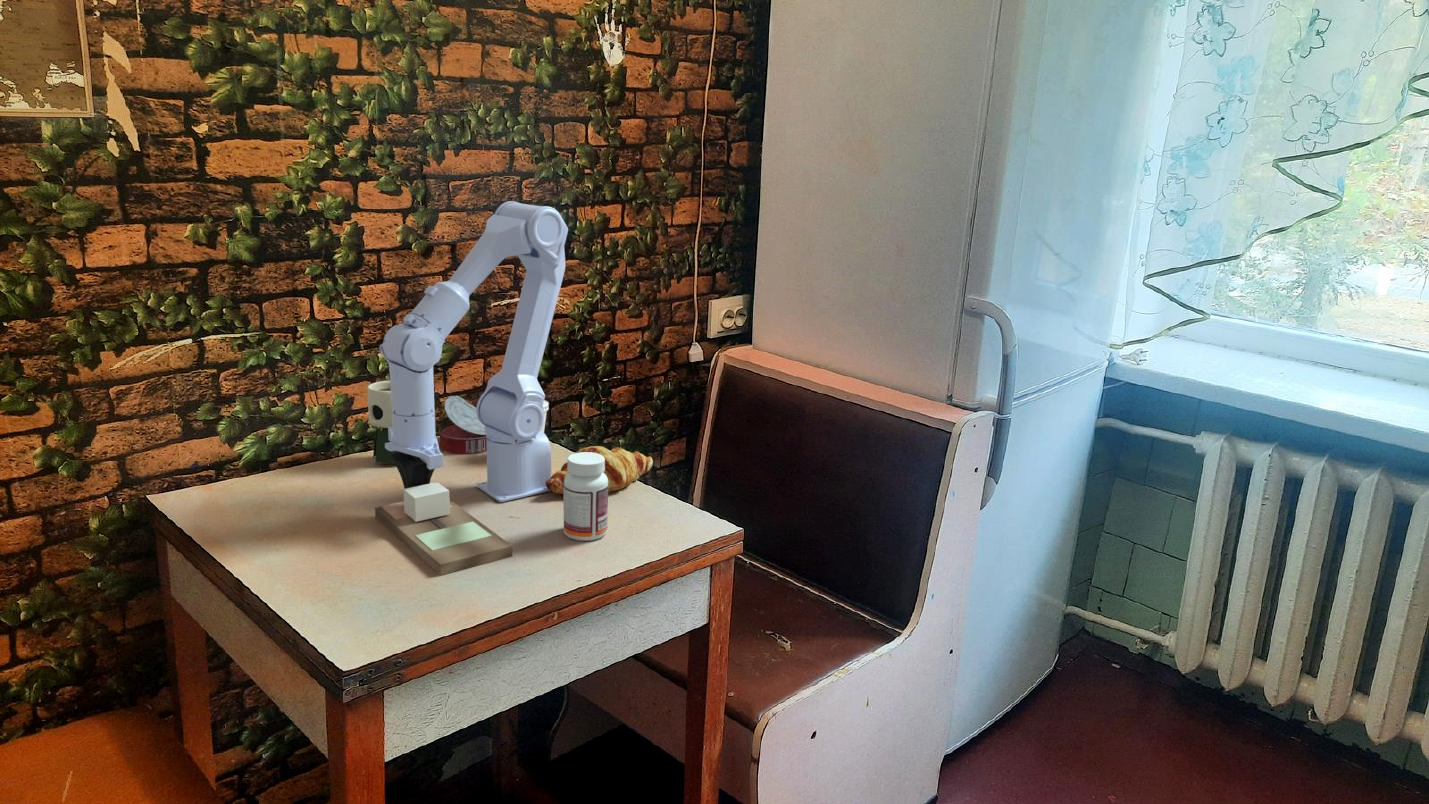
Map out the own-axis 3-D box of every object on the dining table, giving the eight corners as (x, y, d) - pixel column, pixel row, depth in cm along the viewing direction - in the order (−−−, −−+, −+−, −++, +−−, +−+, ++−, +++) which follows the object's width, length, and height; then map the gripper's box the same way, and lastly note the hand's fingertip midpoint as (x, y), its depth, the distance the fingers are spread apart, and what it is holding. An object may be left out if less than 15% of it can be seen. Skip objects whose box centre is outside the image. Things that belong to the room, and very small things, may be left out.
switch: (441, 502, 142) (441, 492, 141) (512, 556, 125) (512, 545, 125) (375, 517, 135) (374, 506, 135) (440, 575, 119) (440, 563, 119)
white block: (438, 504, 136) (437, 482, 135) (450, 514, 133) (449, 490, 132) (404, 512, 133) (403, 489, 132) (415, 521, 130) (414, 498, 129)
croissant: (638, 485, 162) (625, 440, 163) (676, 473, 155) (662, 426, 156) (537, 513, 147) (523, 464, 148) (573, 502, 140) (559, 450, 141)
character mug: (361, 454, 159) (357, 380, 156) (403, 448, 164) (399, 375, 160) (383, 474, 151) (379, 396, 148) (426, 467, 155) (423, 391, 152)
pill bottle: (598, 522, 138) (600, 448, 135) (613, 538, 132) (615, 462, 129) (557, 527, 135) (558, 452, 132) (571, 545, 130) (571, 467, 127)
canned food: (471, 460, 173) (491, 409, 174) (498, 471, 166) (518, 417, 167) (417, 441, 166) (438, 388, 167) (442, 451, 158) (464, 396, 159)
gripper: (365, 401, 135) (370, 490, 138) (405, 428, 124) (410, 524, 128) (413, 395, 139) (417, 481, 143) (456, 420, 128) (459, 513, 132)
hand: (417, 501), depth 136 cm, fingers closed
